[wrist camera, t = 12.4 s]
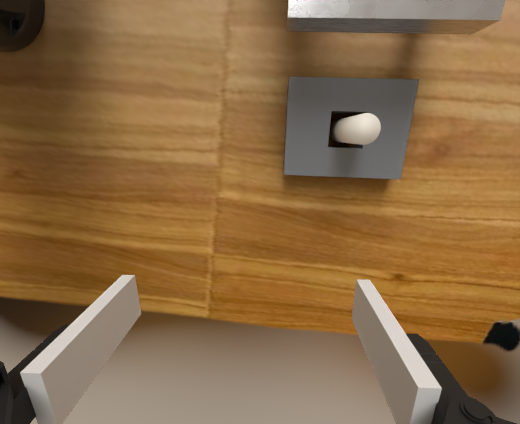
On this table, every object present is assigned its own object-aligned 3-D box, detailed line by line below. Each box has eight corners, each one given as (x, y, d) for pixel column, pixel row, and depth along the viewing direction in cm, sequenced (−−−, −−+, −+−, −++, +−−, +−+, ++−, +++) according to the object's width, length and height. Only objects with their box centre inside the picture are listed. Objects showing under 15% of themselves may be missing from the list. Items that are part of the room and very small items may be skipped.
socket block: (283, 171, 45) (283, 174, 41) (288, 81, 41) (289, 76, 37) (389, 175, 44) (400, 179, 40) (405, 84, 40) (419, 79, 36)
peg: (328, 141, 43) (347, 144, 31) (330, 118, 42) (351, 112, 30) (350, 142, 43) (378, 145, 31) (353, 119, 42) (383, 113, 30)
